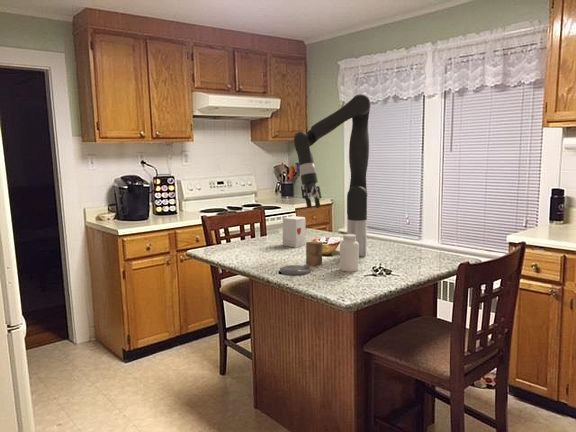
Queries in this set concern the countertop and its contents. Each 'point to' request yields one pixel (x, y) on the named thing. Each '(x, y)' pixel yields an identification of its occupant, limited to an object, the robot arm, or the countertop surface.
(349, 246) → the pill bottle
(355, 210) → the robot arm
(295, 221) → the supplement box
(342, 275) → the countertop surface
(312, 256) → the walnut block
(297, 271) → the disc
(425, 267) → the countertop surface
